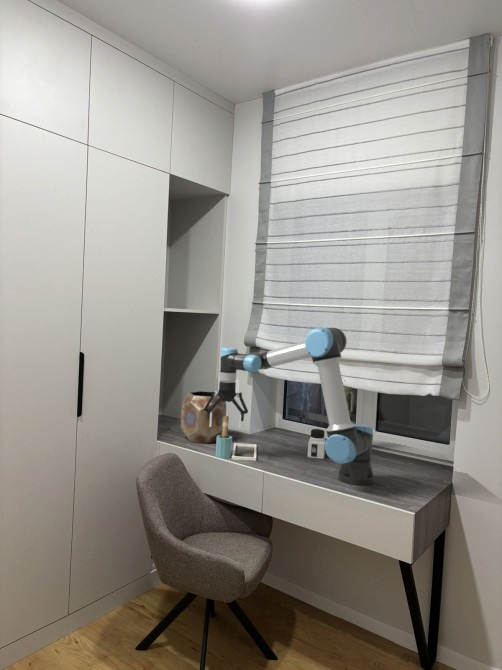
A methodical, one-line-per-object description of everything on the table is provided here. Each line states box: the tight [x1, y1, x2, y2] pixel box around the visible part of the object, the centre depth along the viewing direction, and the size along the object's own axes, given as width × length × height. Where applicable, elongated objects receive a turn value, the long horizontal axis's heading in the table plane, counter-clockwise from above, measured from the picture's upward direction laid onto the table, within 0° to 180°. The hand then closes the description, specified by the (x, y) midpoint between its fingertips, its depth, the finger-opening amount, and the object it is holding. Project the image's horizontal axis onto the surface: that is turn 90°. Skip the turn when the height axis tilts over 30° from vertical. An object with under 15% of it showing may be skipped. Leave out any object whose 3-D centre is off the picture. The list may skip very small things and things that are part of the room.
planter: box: [180, 390, 227, 444], centre depth 269 cm, size 22×24×24 cm
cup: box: [215, 435, 233, 459], centre depth 236 cm, size 7×7×10 cm
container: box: [307, 428, 327, 460], centre depth 249 cm, size 8×8×13 cm
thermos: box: [343, 386, 355, 417], centre depth 265 cm, size 9×12×35 cm
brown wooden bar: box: [222, 415, 229, 438], centre depth 237 cm, size 6×3×18 cm, turn 179°
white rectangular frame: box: [231, 442, 257, 462], centre depth 244 cm, size 24×11×2 cm, turn 179°
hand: (225, 427), depth 238 cm, fingers open, 13 cm apart
